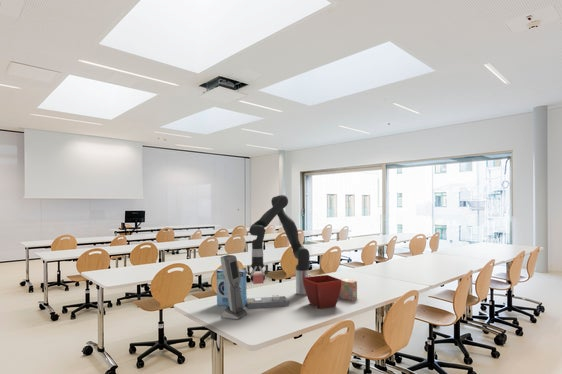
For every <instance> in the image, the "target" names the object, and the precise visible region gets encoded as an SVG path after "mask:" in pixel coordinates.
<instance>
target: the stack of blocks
mask: <svg viewBox="0 0 562 374" xmlns="http://www.w3.org/2000/svg"><path fill="white" fill-rule="evenodd" d="M339 279H340V280H342V282H341V289H340V294H339V297H338V299H344V300H349V301H355V300H357V299H358V281H357V280H353V279H349V278H348V279H347V278H339Z"/></svg>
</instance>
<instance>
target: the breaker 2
mask: <svg viewBox="0 0 562 374" xmlns="http://www.w3.org/2000/svg"><path fill="white" fill-rule="evenodd" d="M279 296H280V295H279V294H274V295H272V296H271V297H272V299H273V301H275V300H280V297H279Z"/></svg>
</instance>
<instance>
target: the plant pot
mask: <svg viewBox="0 0 562 374" xmlns="http://www.w3.org/2000/svg"><path fill="white" fill-rule="evenodd" d="M340 279H341V278H337V277H334V276H332V275H329V274H324V275H313V276H308V277H304V278H303V282H304V287H305V291H306V297H307V299H308V302H309V305H312V306H313V307H315V308H317V309H324V308H330V307H336V306H337V303H338V301H339V298H338V297H339V294H340V289H341V282H342V280H340Z"/></svg>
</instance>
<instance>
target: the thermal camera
mask: <svg viewBox="0 0 562 374" xmlns="http://www.w3.org/2000/svg"><path fill="white" fill-rule="evenodd" d="M220 263H221V269H222V270H223V274H224V278H225V279H224V281H225V282H226V286H227V295H228V301H229V306H226V308H225V309H224V310H223V312H222V313H221V318H223V319H231V320H237V321H238V320H240V319H241V318H243V317H244V316H246V315H247V314H248V313H247V310H246V309H245V308H244V307H243V304H242V299H241V294H240V289H239V284H240V282H241V277H240V273H239V270H240V269H239V265H238V261H237V257H236V256H235V255H233V254H227V255H224V256H220Z"/></svg>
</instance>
